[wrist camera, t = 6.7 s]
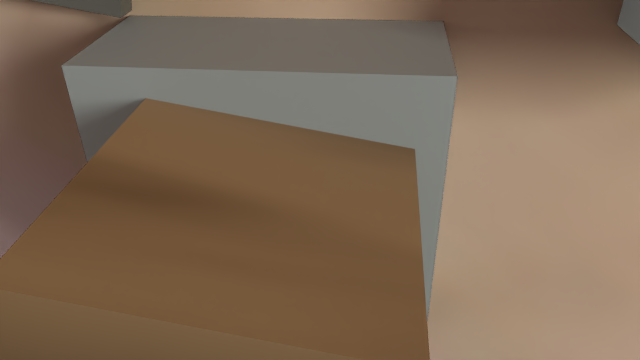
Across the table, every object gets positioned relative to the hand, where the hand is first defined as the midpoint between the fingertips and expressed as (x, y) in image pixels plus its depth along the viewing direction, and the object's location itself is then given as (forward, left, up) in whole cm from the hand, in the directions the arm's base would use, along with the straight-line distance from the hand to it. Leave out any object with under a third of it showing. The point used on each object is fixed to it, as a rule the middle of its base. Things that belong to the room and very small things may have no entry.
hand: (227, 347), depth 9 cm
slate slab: (0, 0, -7) cm, 7 cm away
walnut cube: (0, 0, -3) cm, 3 cm away
